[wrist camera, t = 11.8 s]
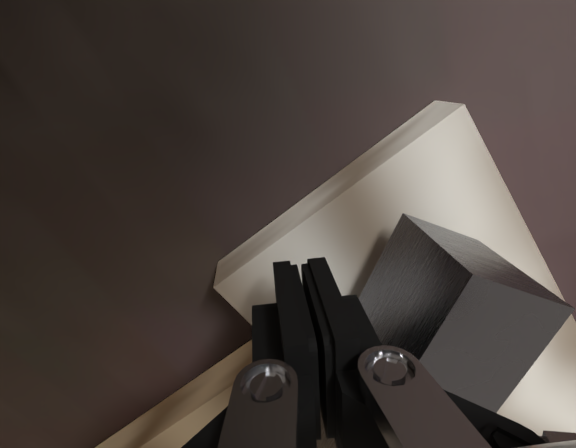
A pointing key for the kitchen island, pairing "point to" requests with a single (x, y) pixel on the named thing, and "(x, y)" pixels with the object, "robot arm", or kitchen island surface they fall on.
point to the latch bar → (459, 312)
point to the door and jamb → (365, 254)
